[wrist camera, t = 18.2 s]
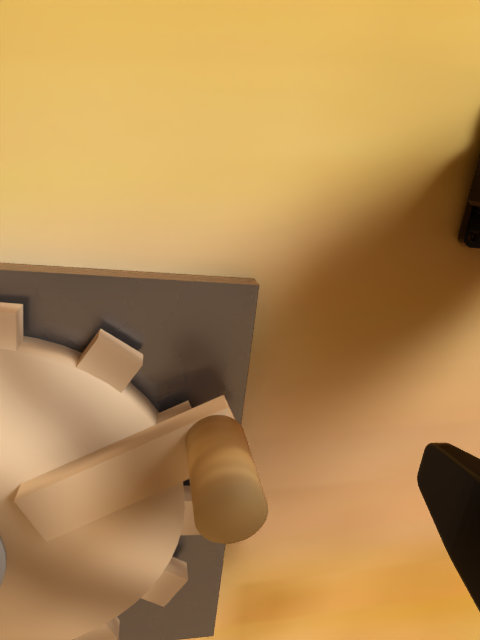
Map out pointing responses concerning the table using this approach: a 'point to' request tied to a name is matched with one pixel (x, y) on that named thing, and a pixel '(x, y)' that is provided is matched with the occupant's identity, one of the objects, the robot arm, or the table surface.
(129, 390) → the index wheel
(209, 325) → the base plate
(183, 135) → the table surface
